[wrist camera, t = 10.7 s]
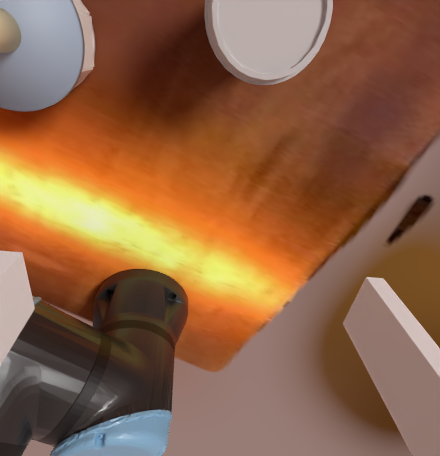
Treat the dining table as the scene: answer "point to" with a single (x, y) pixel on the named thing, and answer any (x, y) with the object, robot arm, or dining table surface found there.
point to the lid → (39, 52)
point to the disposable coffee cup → (266, 36)
